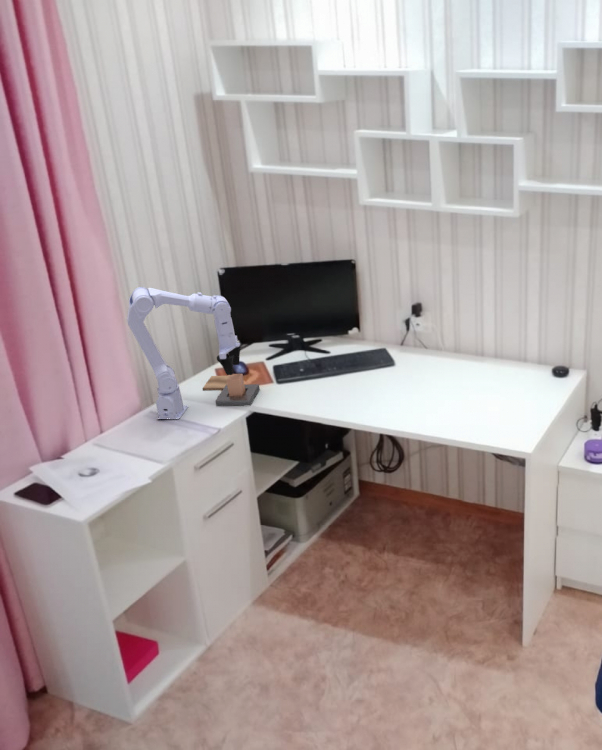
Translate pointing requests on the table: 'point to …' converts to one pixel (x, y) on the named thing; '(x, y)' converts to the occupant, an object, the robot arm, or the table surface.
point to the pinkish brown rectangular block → (236, 385)
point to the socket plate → (240, 400)
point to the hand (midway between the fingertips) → (233, 369)
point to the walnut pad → (216, 383)
